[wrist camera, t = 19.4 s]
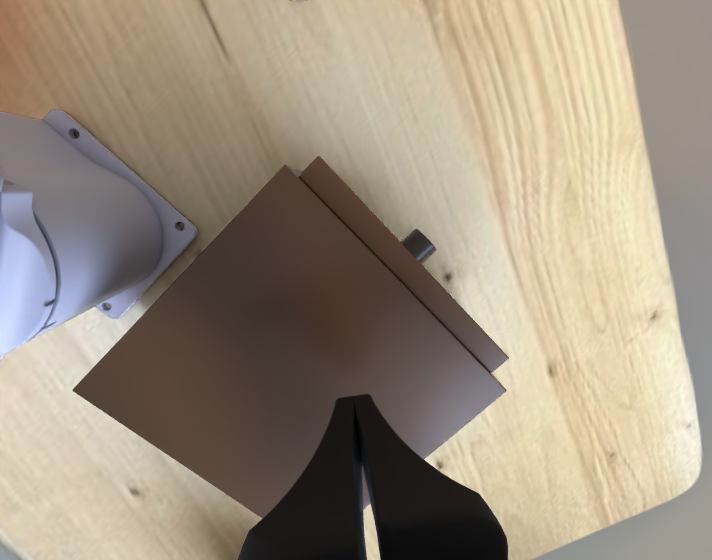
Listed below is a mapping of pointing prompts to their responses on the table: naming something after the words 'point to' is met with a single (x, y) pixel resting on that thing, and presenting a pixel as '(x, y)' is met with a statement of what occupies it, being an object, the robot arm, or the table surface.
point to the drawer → (402, 260)
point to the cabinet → (284, 352)
